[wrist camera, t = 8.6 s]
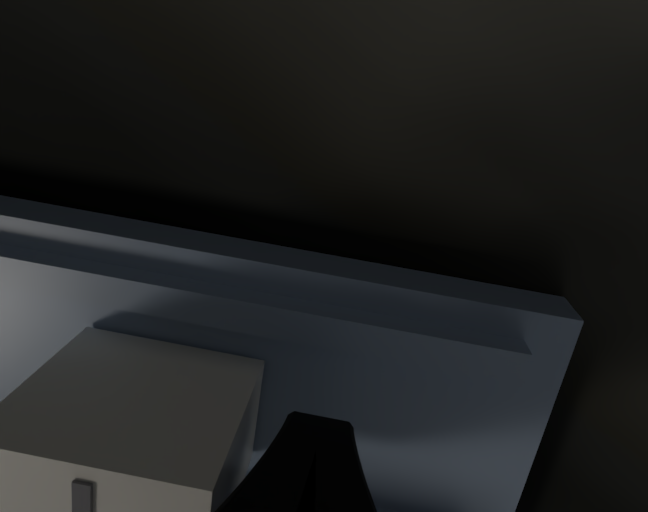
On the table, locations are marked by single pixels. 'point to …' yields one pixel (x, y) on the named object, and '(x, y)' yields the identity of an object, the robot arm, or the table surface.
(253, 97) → the table surface
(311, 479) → the robot arm
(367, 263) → the switch bank
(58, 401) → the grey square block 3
